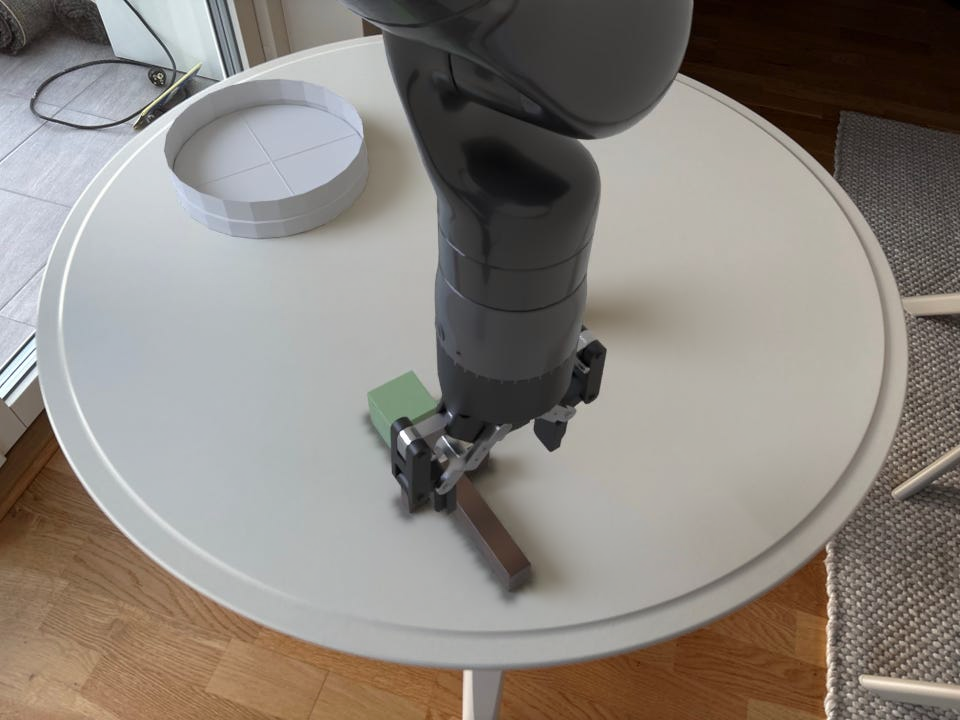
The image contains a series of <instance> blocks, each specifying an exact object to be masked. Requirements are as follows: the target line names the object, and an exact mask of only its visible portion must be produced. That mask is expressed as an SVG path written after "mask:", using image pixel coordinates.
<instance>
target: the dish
mask: <svg viewBox="0 0 960 720" xmlns="http://www.w3.org/2000/svg"><path fill="white" fill-rule="evenodd" d="M163 153H164V156H165V159H166V160H165V161H166V163H167V167H168V169H169V175H170V178H171V181H172V186H173V188H174V191H175V193H176V197H177V200H178V202H179V204H180V205H181V207H182V208H183V209H184V210H185V211H186V212H187V214H188V215H189V216H190V217H191V218H192V219H194V220H195V221H197V222H198V223H200V224H201V225H203V226H205V227H206V228H208V229H210V230H212V231H215V232H219V233H221V234H225V235H228V236H231V237H239V238H248V239H270V238H271V239H272V238H285V237H290V236H293V235H297V234H301V233H305V232H309V231H312V230H314V229H316V228H319V227H320V226H322V225H325V224H326V223H329V222H331V221H333V220H335V219H336V218H338V217H339V216H340V215H342V214H343V213H344V212H346V210H348V209H349V208H350V207H352V206H353V205H354V203H355V202H356V200H358V198H359V197H360V195H361V194H362V193H363V191H364V190H365V187H366V184H367V181H368V178H369V175H370V169H369V168H370V167H369V156H368V155H369V154H368V148H367V141H366V139H365V137H364V127H363V120H362V118H361V116H360V115H359V113H358V111H357V109H356V108H355V106H353V105H352V103H350V102H349V101H348V99H346V98H345V97H344V96H342V95H341V94H339V93H337V92H335V91H333V90H331V89H329V88H327V87H325V86H322V85H319V84H314V83H311V82H307V81H304V80H297V79H296V80H295V79H285V78H271V79H255V80H250V81H244V82H239V83H235V84H231V85H228V86H225V87H222V88H220V89H218V90H215V91H212V92H210V93H208V94H206V95H204V96H203V97H201V98H200V99H198V100H196V101H194V102H193V103H191V104H189V105H188V106H187V107H186V108H185V109H184V110H183V111H182V112H181V113H180V114H179V115H178V116H177V117H175V119H174V120H173V122H172V123H171V126H170V127H169V129H168V131H167V132H166V133H165V141H164V148H163Z"/></svg>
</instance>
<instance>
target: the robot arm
mask: <svg viewBox="0 0 960 720" xmlns="http://www.w3.org/2000/svg"><path fill="white" fill-rule="evenodd" d="M336 1H337V2H338V3H340V5H343V6H344V7H345V8H347V9H348V10H349V11H351V12H352V13H354V14H355V15H357V16H358V17H360V18H361V19H364V21H367V22H368V23H370V24H372V25H374V26H375V27H378V28H380V29H381V35H382V40H383V46H384V52H385V57H386V60H387V64H388V69H389V71H390V74H391V77H392V80H393V81H392V82H393V84H394V87H395V90H396V93H397V96H398V98H399V101H400V103H401V105H402V109H403V111H404V114H405V117H406V119H407V122H408V125H409V128H410V130H411V133H412V136H413V138H414V141H415V144H416V146H417V149H418V153H419V155H420V159H421V162H422V163H423V167H424V169H425V172H426V174H427V176H428V179H429V181H430V183H431V185H432V187H433V190H434V193H435V195H436V214H437V246H438V247H437V249H438V259H437V260H438V261H437V267H436V273H435V279H434V329H435V345H436V369H437V378H438V382H439V387H440V391H441V397H440V399H439V401H438V402H437V404H438V405H437V407H436V410H435V415H434V416H432V417H430V418H428V419H426V420H424V421H422V422H420V423H418V424H416V425H413V424H412V422H411V421H410V419H409V418H408V417H401V418H399V419H397V420H396V421H394V422H393V424H392V425H391V427H390V438H391V449H390V464H391V465H390V467H391V475H392V476H393V478H394V479H395V480H396V482H397V484H398V485H399V486H400V489H401V488H402V489H403V490H404V492H405V493H406V495H407V496H408V498H409V499H410V501H411V502H412V504H414V505H416V504H419V503H421V502H423V501H424V500H425V499H426V498H427V500H428V501H429V502H428V503H429V504H430V505H431V507H432V509H433V510H434V511H435V513H440V512H442V511H443V513H444V514H445V515H446V516H448V515H450V514H453V513H452V512H453V511H455V510H456V509H457V486H456V483H457V481H458V480H459V478H460V477H461V476H462V474H463V473H464V472H465V471H471V470H475V469H476V468H477V467H478V465H479V464H480V463H481V461H482V460H483V459H484V458H485V456H486V455H487V454H488V452H489V451H490V452H491V450H492V449H493V448H494V446H495V444H496V443H497V442H501V441H503V440H504V439H505V437H506V436H507V435H508V434H510V433H512V432H514V431H517V430H519V429H521V428H523V427H525V426H526V425H528V424H530V423H531V421H533V420H534V422H533V429H532V430H533V433H534V435H535V437H536V438H537V439H538V440H539V441H540V443H541V444H542V445H543V446H544V447H545V449H546V450H547V451H548V452H549V453H553V452H555V451H556V450H557V449H560V447H561V445H562V440H563V438H564V437H565V435H566V434H567V433H566V432H567V427H568V423H569V421H570V420H571V419H572V418H574V416H575V415H576V413H577V411H578V410H577V409H576V406H578V405H579V404H580V403H584V404H585V405H589V404H592V403H593V402H594V401H595V400H596V399H597V398H598V397H599V395H600V391H601V385H602V380H603V374H604V369H605V363H606V358H607V353H608V349H607V347H605V345H604V344H603V343H602V342H601V341H600V340H599V339H598V337H596V336H595V335H594V334H593V333H592V332H591V330H589V329H588V328H587V327H586V326H585V325H584V324H583V322H584V317H585V313H586V305H587V299H588V267H589V262H590V258H591V253H592V246H593V240H594V236H595V230H596V226H597V222H598V216H599V210H600V204H601V197H602V181H601V173H600V169H599V166H598V164H597V162H596V160H595V158H594V157H593V154H592V153H591V152H590V150H589V149H587V147H586V146H585V145H583V143H582V142H581V141H597V140H603V139H607V138H612V137H615V136H617V135H620V134H622V133H624V132H626V131H629V130H630V129H631V128H633V127H635V126H636V125H637V124H639V123H640V122H641V121H643V120H644V119H645V118H646V117H648V115H650V114H651V113H652V112H653V110H654V109H655V108H657V106H658V105H659V104H660V103H661V102H662V100H663V99H664V97H665V96H667V93H668V92H669V90H670V89H671V87H672V86H673V84H674V82H675V80H676V77H678V74H679V71H680V69H681V67H682V65H683V62H684V60H685V56H686V52H687V50H688V47H689V43H690V37H691V33H692V32H691V31H692V27H693V17H694V16H693V15H694V0H336ZM464 442H465V443H469V444H472V445H470V446H471V448H470V449H469V450H467V448H468V447H466V446H465V444H464ZM443 455H444V456H445V457H446V460H447V459H448V460H449V466H448V468H447V469H446V470H445V468H444V467H443V465H442V464H441V463H442V462H441V461H440V459H441V457H442V456H443Z"/></svg>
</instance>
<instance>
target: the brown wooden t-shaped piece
mask: <svg viewBox="0 0 960 720" xmlns="http://www.w3.org/2000/svg"><path fill="white" fill-rule="evenodd" d="M471 446H472V445H470V446H468V447H466V448H467V450H469V449H470V448H471ZM490 453H491V450H490V451H489V452H488V454H487V455H486V456H485V458H484V459H483V460H482V461H481V463H480V464H479V465H478V467H477V468H476V469H475V470H471V471H465V472H464V473H463V474H462V476H461V477H460V478H459V480H458V481H457V483H456V486H457V509H456V510H455V511H453V512H452V513H451V514H453V516H454V517H455V519H456V520H457V522H458V523H459V524H460V526H461V527H462V529H463V530H464V532H465V533H466V534H467V536H468V537H469V538H470V540H471V541H472V542H473V544H474V545H475V547H476V548H477V550H478V551H479V553H480V554H481V556H482V557H483V558H484V560H485V561H486V562H487V564H488V565H489V567H490V569H491V570H492V571H493V573H494V574H495V576H496V578H497V579H498V580H499V581H500V583H501V584H502V586H503V587H504V588H505V590H506V591H507V592H510V591H512V590H513V589H515V588H516V587H518V586H519V585H521V584H522V583H524V582H526V580H528V579H529V576H530V571H531V566H532V563H531V562H530V560H529V559H528V557H527V556H526V554H525V553H524V552H523V550H522V549H521V548H520V547H519V545H518V544H517V542H516V541H515V539H514V538H513V537H512V536H511V534H510V533H509V531H508V530H507V529H506V528H505V525H503V523H502V522H501V520H500V519H499V518H498V517H497V515H496V514H495V513H494V511H493V510H492V508H491V507H490V505H488V503H487V502H486V500H485V499H484V498H483V496H482V495H481V494H480V492H479V491H478V490H477V488H476V487H475V485H474V484H473V482H472V481H471V480H470V478H472V477H474V476H477V474H479V473H481V472H483V471H485V470H486V469H488V468H489V465H490ZM440 463H441V464H442V465H443V467H444V468H445V470H446V469H447V468H448V466H449V460H448V459H447V458H446V459H445V460H443V461H441V462H440ZM400 491H401V492H400V493H401V502H402V504H403V506H404V507H405V508H406V510H407V512H408V513H409V514H411V513H412V512H414V511H415V510H417V509H419V508H421V507H423V506H424V505H426V504H428V503H429V501H428V500H427V498H426V499H425V500H424V501H423V502H421V503H419V504H416V505H414V504H412V502H411V501H410V499H409V498H408V496H407V495H406V493H405V492H404V490H403V489H402V488H401V487H400Z"/></svg>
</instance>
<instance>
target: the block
mask: <svg viewBox="0 0 960 720" xmlns="http://www.w3.org/2000/svg"><path fill="white" fill-rule="evenodd" d="M366 396H367V402H368V408H369V415H370V416H369V417H370V421H371V423H372V424H373V427H375V429H376V431H378V433H379V435H380V436H381V437H382V439H383V440H384V442H385V444H386V445H387V446H388V447H389V449H390V450H391V438H390V427H391V425H392V424H393V422H394V421H396V420H397V419H399V418H401V417H408V418H409V419H410V421H411V422H412V424H413V425H416V424H418V423H420V422H422V421H424V420H426V419H428V418H430V417H432V416H434V415H435V410H436V407H437V405H438V402H437V401H436V400H435V398H434V397H433V396H432V395H431V393H430V392H429V391H428V389H427V388H426V387H425V385H424V384H423V383H422V381H421V380H420V379H419V377H418V376H417V374H415V372H414V371H413V370H412V369H411V370H409V371H407V372H405V373H403V374H401V375H399V376H397V377H394V379H391V380H389V381H387V382H385V383H384V384H381V385H379V386H378V387H376V388H374V389H371V390H370V391H367V392H366Z"/></svg>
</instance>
